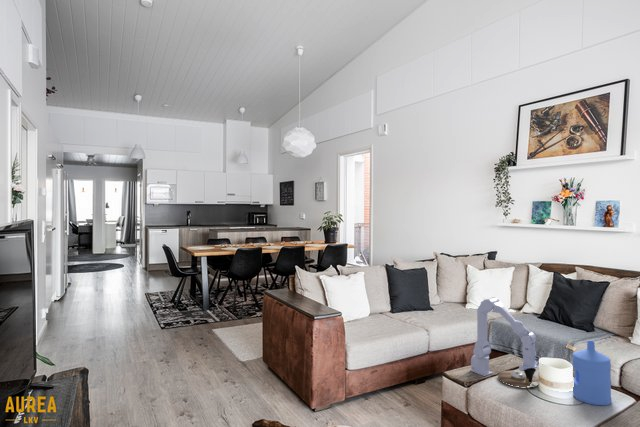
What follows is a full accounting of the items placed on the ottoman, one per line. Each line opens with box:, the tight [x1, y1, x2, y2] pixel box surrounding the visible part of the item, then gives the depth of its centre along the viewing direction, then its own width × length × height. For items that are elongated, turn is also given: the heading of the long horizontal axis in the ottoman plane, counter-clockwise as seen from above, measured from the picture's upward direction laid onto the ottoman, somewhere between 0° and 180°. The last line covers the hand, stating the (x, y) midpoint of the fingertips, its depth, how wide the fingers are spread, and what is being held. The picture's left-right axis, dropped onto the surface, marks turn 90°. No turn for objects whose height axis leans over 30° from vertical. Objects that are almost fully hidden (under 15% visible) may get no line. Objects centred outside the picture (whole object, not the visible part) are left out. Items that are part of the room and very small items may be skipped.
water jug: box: [571, 340, 612, 406], centre depth 198 cm, size 16×16×28 cm
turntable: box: [497, 370, 539, 387], centre depth 220 cm, size 20×20×4 cm
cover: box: [511, 370, 525, 380], centre depth 220 cm, size 7×7×3 cm
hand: (529, 381), depth 213 cm, fingers closed, pressing on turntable
